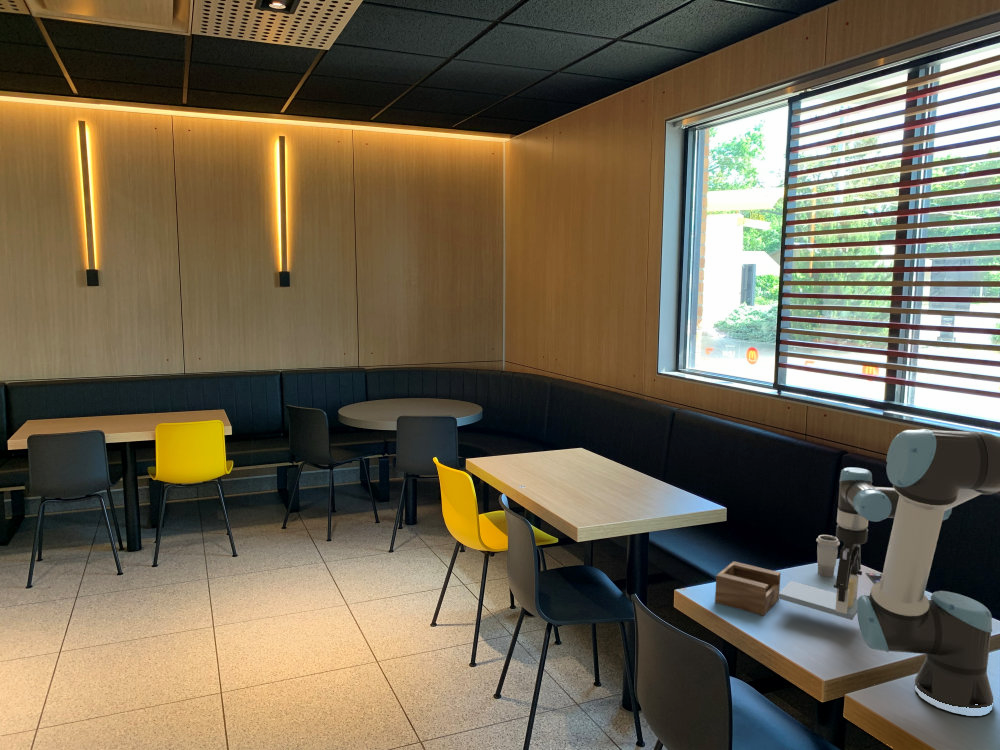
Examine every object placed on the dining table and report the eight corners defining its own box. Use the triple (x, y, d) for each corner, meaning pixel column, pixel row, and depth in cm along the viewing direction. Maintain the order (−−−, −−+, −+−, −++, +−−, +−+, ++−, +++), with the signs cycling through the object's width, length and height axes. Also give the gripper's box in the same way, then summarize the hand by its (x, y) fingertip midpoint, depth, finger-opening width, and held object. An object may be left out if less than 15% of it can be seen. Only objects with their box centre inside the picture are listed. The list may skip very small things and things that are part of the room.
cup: (842, 576, 237) (845, 539, 235) (828, 580, 233) (831, 543, 232) (822, 568, 243) (825, 533, 241) (809, 572, 239) (811, 536, 238)
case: (763, 615, 207) (765, 587, 206) (714, 602, 216) (716, 575, 215) (778, 599, 219) (780, 572, 217) (732, 586, 227) (733, 561, 226)
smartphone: (892, 576, 238) (892, 572, 238) (910, 596, 223) (910, 592, 223) (865, 574, 239) (865, 571, 239) (881, 594, 224) (881, 590, 224)
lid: (852, 620, 195) (855, 589, 193) (778, 598, 206) (781, 569, 205) (861, 605, 203) (864, 576, 202) (790, 585, 215) (792, 557, 213)
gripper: (857, 540, 186) (851, 624, 189) (876, 518, 205) (870, 594, 208) (826, 534, 191) (820, 615, 193) (847, 512, 209) (841, 587, 212)
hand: (846, 604), depth 200 cm, fingers closed on lid, 11 cm apart
